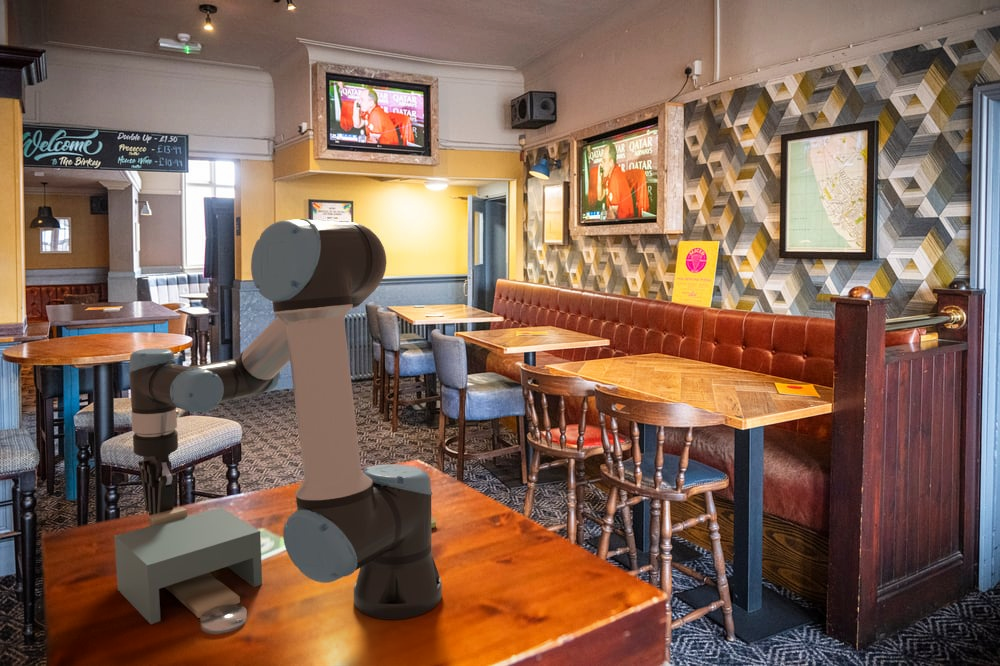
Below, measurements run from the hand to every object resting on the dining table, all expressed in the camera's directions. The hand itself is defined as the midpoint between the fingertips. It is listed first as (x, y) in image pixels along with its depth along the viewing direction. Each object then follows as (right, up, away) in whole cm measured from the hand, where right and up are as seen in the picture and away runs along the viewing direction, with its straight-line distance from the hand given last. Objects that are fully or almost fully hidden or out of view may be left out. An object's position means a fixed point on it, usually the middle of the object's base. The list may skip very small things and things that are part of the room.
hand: (160, 550), depth 134 cm
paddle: (+11, -4, -10) cm, 15 cm away
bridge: (+10, -4, -10) cm, 14 cm away
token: (+21, -5, -21) cm, 30 cm away
